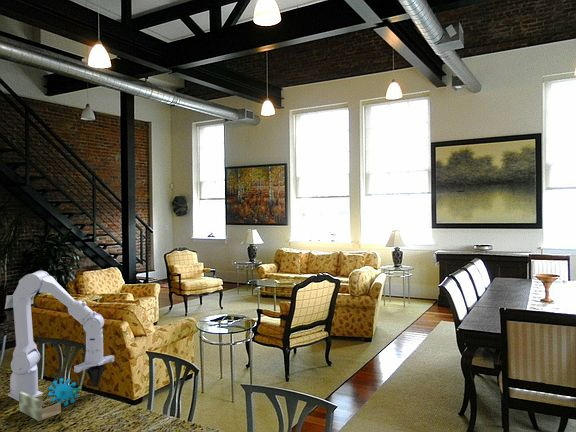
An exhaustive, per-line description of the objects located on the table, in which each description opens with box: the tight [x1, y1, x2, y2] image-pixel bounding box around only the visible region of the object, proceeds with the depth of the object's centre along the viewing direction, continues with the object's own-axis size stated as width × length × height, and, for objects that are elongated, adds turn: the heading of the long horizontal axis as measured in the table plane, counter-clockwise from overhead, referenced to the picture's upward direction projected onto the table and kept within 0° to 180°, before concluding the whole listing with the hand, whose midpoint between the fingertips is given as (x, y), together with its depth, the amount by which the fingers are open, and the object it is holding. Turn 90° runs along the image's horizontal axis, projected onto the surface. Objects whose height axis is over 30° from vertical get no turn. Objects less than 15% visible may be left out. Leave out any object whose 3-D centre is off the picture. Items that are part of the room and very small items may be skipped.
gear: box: [47, 377, 83, 407], centre depth 157 cm, size 11×6×10 cm
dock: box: [18, 392, 62, 422], centre depth 149 cm, size 13×7×6 cm, turn 54°
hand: (95, 386), depth 165 cm, fingers closed
